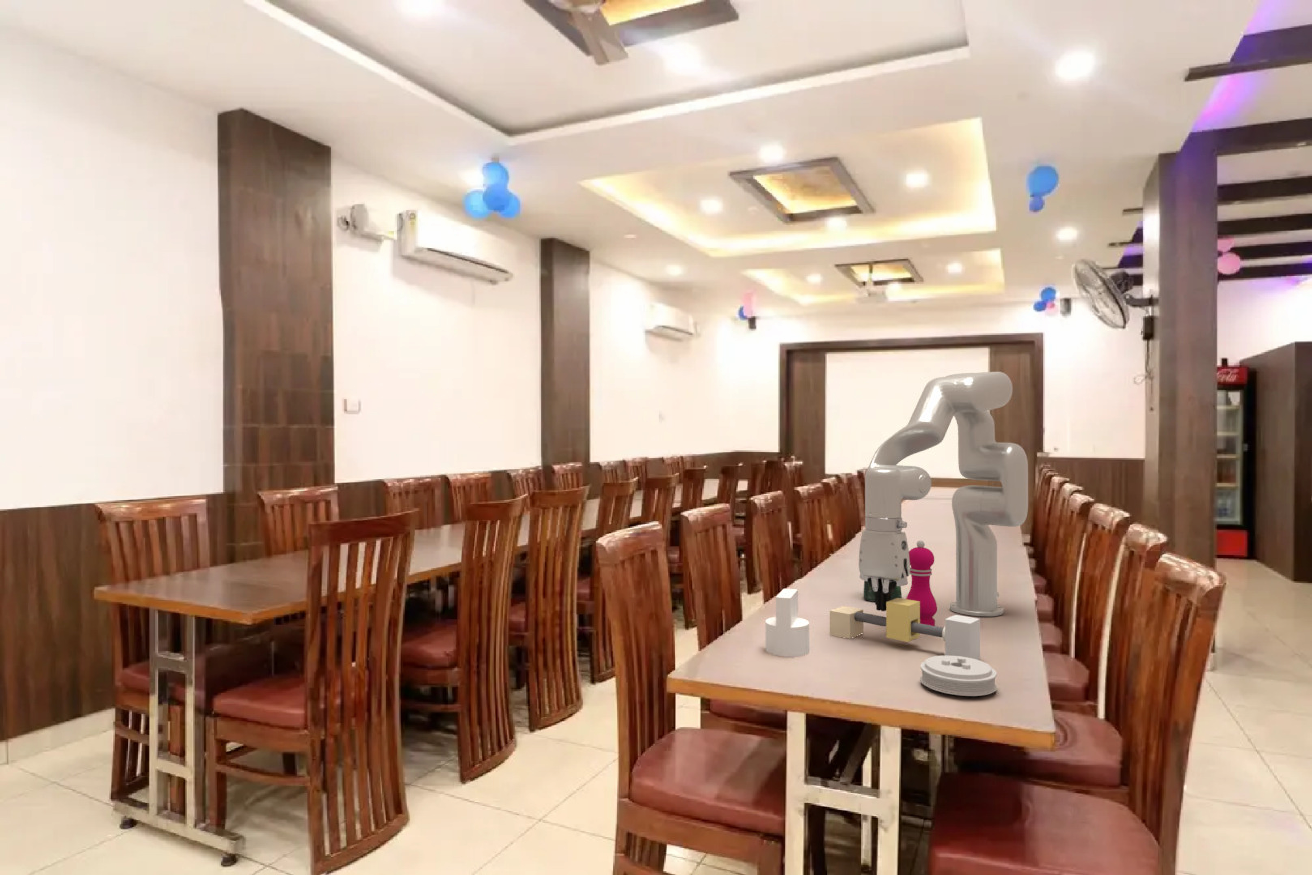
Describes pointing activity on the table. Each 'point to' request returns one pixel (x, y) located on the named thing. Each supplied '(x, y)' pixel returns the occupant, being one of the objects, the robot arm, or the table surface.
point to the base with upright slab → (787, 627)
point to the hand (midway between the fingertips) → (883, 609)
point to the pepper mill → (922, 582)
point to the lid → (958, 675)
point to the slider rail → (914, 630)
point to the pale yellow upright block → (902, 619)
